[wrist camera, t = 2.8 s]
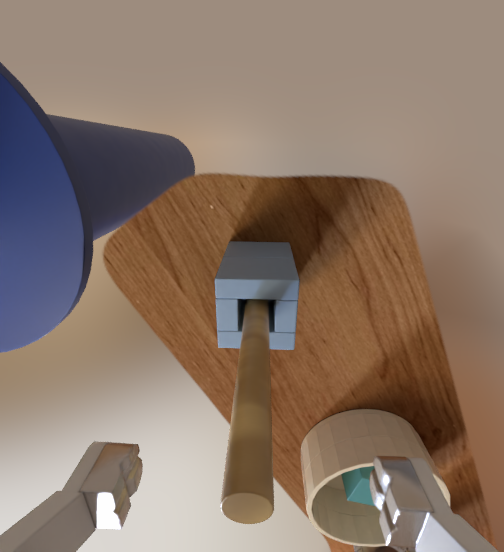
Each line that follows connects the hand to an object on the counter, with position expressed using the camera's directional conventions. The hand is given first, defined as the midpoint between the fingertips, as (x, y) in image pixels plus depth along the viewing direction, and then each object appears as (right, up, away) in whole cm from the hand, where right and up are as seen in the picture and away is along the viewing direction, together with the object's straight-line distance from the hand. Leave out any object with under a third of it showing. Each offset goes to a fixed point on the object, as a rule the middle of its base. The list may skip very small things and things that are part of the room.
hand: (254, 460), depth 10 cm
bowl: (+13, -15, +25) cm, 31 cm away
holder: (+1, +7, +16) cm, 18 cm away
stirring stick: (0, +5, +12) cm, 14 cm away
